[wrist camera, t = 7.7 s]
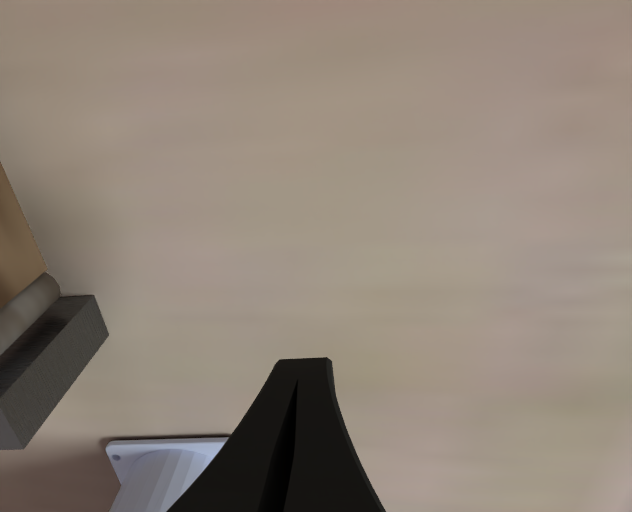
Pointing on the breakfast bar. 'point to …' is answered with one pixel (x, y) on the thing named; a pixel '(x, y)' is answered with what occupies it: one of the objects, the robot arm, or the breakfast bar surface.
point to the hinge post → (46, 365)
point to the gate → (20, 271)
